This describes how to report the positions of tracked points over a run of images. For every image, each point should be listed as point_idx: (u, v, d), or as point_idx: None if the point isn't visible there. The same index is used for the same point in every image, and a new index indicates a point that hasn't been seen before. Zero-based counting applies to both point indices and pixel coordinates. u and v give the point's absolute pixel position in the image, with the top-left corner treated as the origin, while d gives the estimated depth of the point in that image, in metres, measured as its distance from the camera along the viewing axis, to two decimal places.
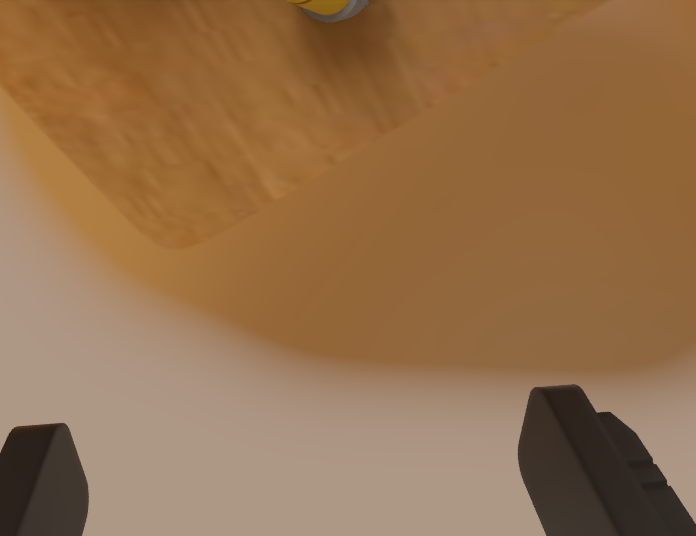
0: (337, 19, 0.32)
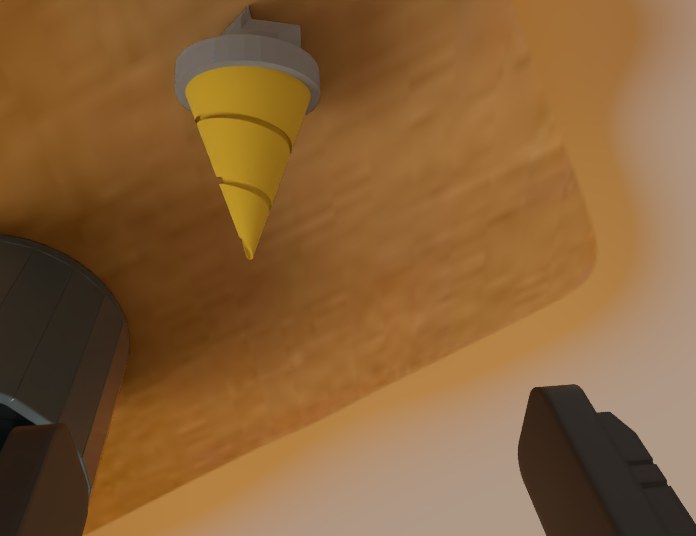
0: (314, 85, 0.22)
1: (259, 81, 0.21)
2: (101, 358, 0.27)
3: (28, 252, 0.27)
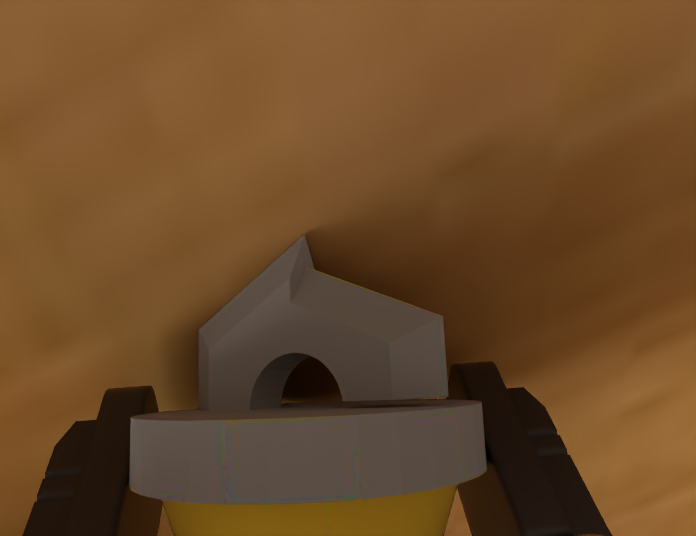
0: None
1: (353, 529, 0.08)
2: None
3: None
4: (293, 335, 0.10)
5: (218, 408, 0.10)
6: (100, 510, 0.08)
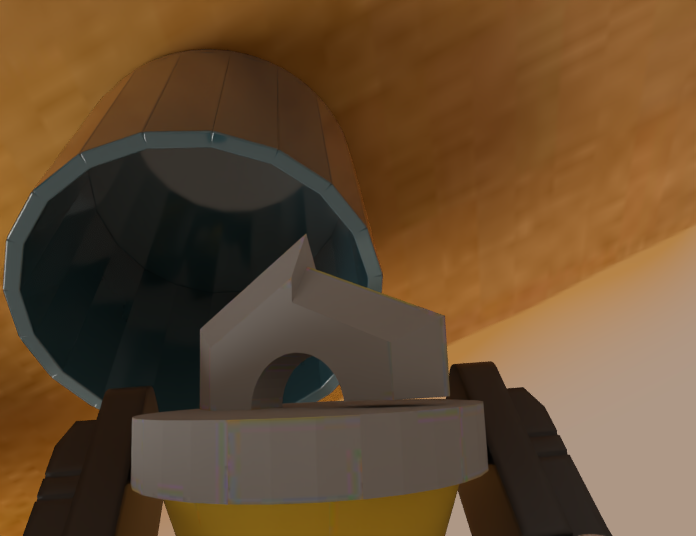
0: None
1: (355, 529, 0.08)
2: (359, 189, 0.23)
3: (273, 69, 0.24)
4: (295, 335, 0.10)
5: (219, 408, 0.10)
6: (100, 510, 0.08)
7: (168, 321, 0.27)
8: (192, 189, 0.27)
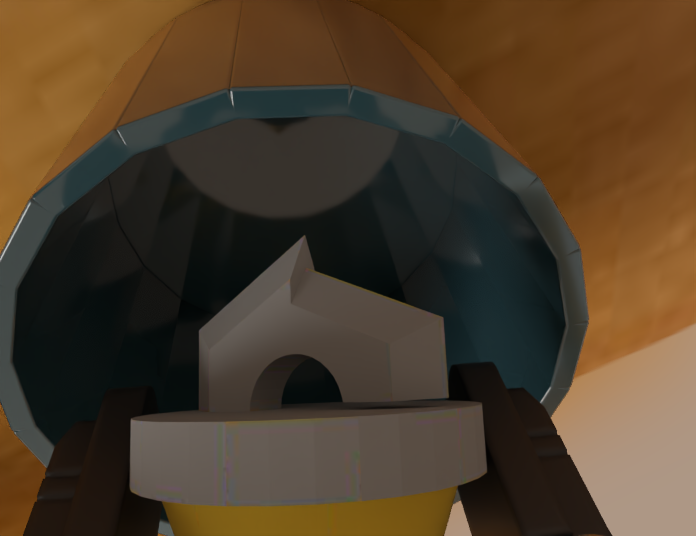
0: None
1: (354, 531, 0.08)
2: None
3: (375, 15, 0.16)
4: (294, 336, 0.10)
5: (218, 409, 0.10)
6: (100, 510, 0.08)
7: None
8: (250, 190, 0.19)
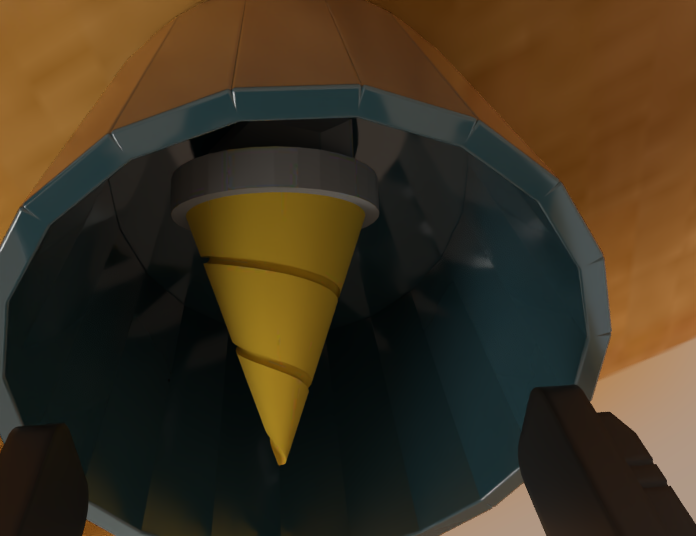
0: (373, 206, 0.15)
1: (295, 213, 0.14)
2: None
3: (384, 12, 0.16)
4: (267, 138, 0.16)
5: None
6: None
7: (223, 382, 0.19)
8: None
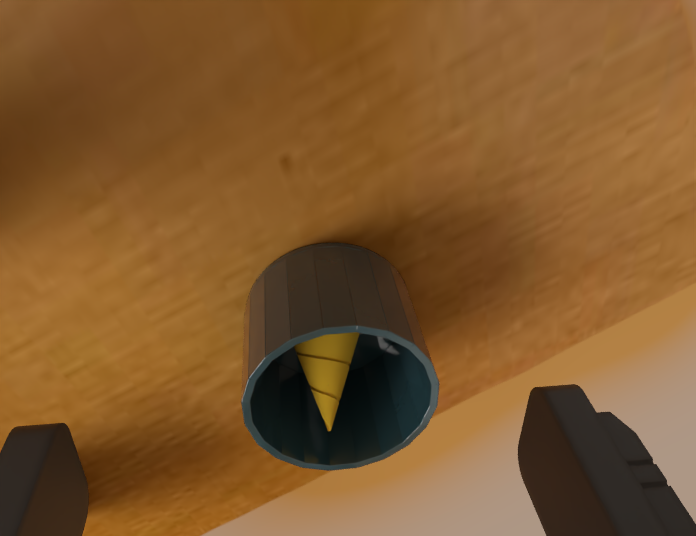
0: None
1: (334, 338, 0.39)
2: None
3: (365, 254, 0.40)
4: None
5: None
6: None
7: (300, 399, 0.43)
8: None
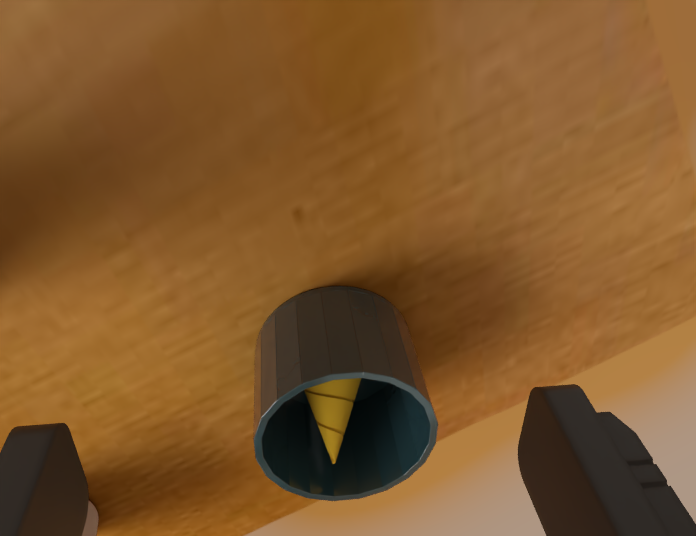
0: None
1: None
2: (419, 364, 0.43)
3: (370, 298, 0.43)
4: None
5: None
6: None
7: (305, 430, 0.46)
8: None
